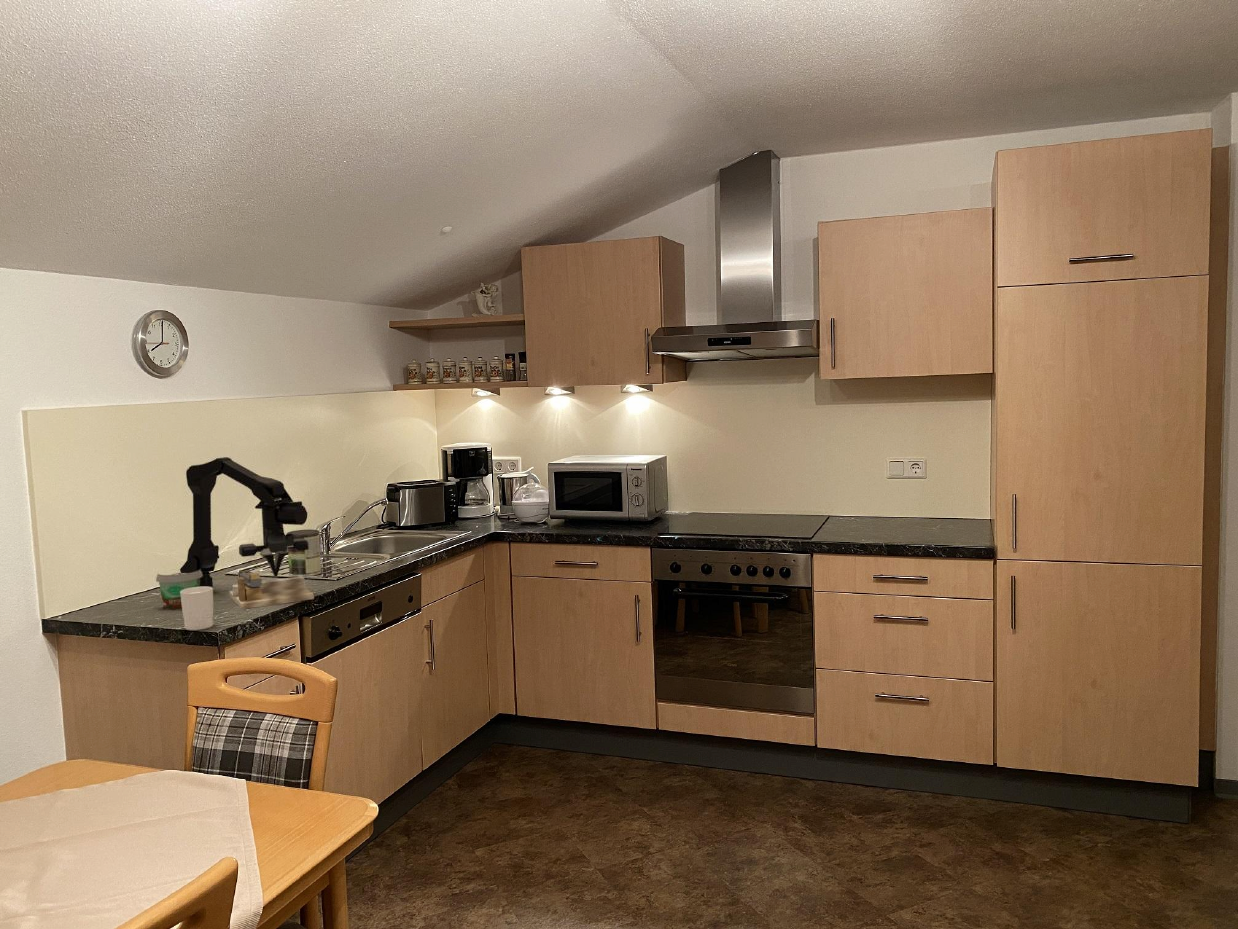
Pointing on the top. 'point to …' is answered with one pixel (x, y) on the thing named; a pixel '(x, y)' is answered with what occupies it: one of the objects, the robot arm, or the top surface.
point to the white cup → (197, 607)
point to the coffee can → (305, 555)
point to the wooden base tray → (270, 592)
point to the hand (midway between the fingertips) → (275, 576)
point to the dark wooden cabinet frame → (250, 578)
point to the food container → (176, 587)
